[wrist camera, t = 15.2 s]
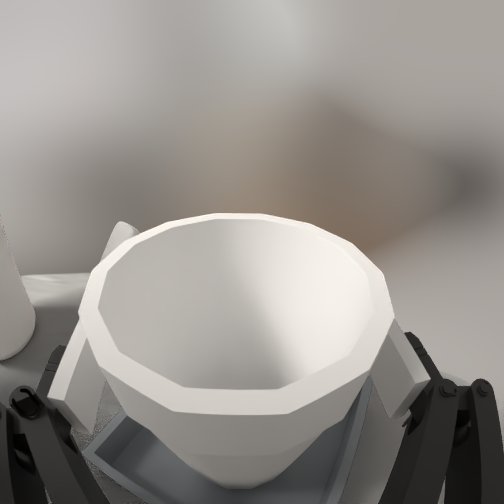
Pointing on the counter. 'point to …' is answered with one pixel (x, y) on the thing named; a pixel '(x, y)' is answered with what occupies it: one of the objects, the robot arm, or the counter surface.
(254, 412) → the foam cup
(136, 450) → the tray
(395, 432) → the counter surface
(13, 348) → the alcohol
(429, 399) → the robot arm
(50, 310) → the counter surface
